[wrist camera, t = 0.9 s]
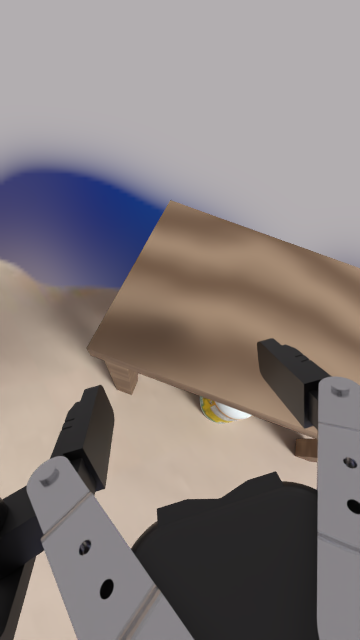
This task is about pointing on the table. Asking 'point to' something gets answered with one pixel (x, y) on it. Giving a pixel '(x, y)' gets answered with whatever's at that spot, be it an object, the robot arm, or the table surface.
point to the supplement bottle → (220, 412)
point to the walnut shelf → (229, 314)
